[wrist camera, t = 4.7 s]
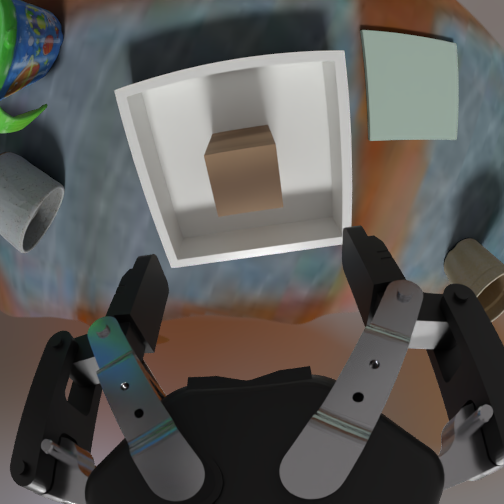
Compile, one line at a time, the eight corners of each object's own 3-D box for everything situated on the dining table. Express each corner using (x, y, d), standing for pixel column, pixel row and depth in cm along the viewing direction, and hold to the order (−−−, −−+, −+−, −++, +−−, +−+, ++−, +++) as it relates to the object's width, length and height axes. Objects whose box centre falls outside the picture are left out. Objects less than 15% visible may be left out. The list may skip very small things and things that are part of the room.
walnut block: (212, 133, 23) (203, 155, 18) (268, 124, 22) (275, 144, 18) (223, 182, 25) (218, 216, 20) (274, 175, 25) (283, 207, 20)
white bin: (132, 85, 20) (114, 90, 17) (328, 51, 19) (344, 50, 16) (178, 242, 30) (171, 268, 26) (338, 219, 28) (350, 243, 25)
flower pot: (487, 262, 33) (517, 303, 26) (437, 294, 36) (464, 340, 29) (483, 214, 28) (524, 256, 21) (427, 250, 31) (462, 300, 24)
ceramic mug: (18, 136, 21) (-31, 167, 15) (73, 172, 24) (30, 213, 18) (2, 211, 26) (-34, 248, 20) (49, 244, 29) (18, 288, 23)
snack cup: (-12, 21, 12) (-81, 33, 4) (62, -41, 11) (-6, -60, 3) (23, 136, 21) (-44, 179, 13) (101, 86, 20) (30, 109, 12)
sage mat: (360, 30, 18) (362, 29, 17) (453, 43, 17) (456, 43, 17) (368, 139, 24) (370, 140, 23) (453, 138, 23) (456, 140, 23)
